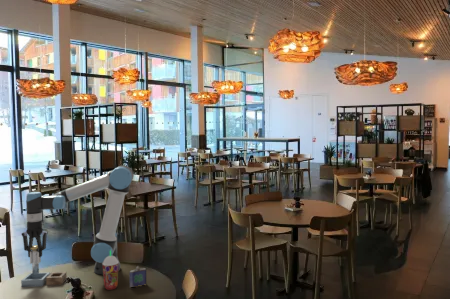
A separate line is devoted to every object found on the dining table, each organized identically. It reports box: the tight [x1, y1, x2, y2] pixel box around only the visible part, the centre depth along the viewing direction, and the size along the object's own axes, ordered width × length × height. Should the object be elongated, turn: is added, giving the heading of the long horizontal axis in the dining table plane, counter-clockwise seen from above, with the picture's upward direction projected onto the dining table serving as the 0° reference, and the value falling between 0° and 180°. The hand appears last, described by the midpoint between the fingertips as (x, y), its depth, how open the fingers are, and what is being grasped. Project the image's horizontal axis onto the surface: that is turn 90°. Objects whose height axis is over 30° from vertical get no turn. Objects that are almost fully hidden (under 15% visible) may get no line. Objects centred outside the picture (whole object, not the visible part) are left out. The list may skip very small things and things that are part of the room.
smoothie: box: [102, 251, 120, 291], centre depth 204 cm, size 8×8×20 cm
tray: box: [20, 272, 51, 288], centre depth 212 cm, size 11×11×4 cm
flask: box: [128, 265, 147, 288], centre depth 206 cm, size 9×3×11 cm, turn 121°
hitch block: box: [45, 271, 67, 286], centre depth 213 cm, size 8×8×4 cm
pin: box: [30, 245, 40, 274], centre depth 212 cm, size 5×5×15 cm
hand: (35, 262), depth 212 cm, fingers closed on pin, 3 cm apart
